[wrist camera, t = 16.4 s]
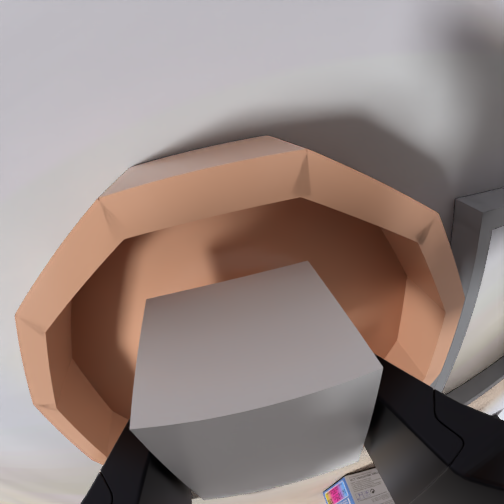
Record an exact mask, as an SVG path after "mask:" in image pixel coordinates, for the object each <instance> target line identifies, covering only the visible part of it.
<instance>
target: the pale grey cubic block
mask: <svg viewBox="0 0 504 504" xmlns="http://www.w3.org/2000/svg"><path fill="white" fill-rule="evenodd" d="M382 371H383V366H382V365H381V363H380V362H379V360H378V359H377V357H376V356H375V355H374V353H373V352H372V350H371V349H370V347H369V346H368V344H367V343H366V341H365V340H364V339H363V337H362V336H361V334H360V333H359V331H358V330H357V328H356V327H355V326H354V324H353V323H352V321H351V320H350V318H349V317H348V316H347V314H346V313H345V311H344V310H343V309H342V307H341V306H340V304H339V303H338V302H337V300H336V299H335V297H334V296H333V295H332V293H331V292H330V290H329V289H328V288H327V286H326V285H325V283H324V282H323V281H322V279H321V278H320V277H319V275H318V274H317V272H316V271H315V270H314V268H313V267H312V266H311V264H310V263H309V262H308V261H304V262H300V263H296V264H292V265H288V266H284V267H280V268H276V269H272V270H268V271H264V272H260V273H256V274H252V275H248V276H244V277H240V278H235V279H231V280H227V281H223V282H219V283H214V284H210V285H206V286H202V287H197V288H193V289H189V290H185V291H180V292H176V293H171V294H167V295H163V296H158V297H154V298H149V299H146V304H145V309H144V315H143V321H142V327H141V334H140V340H139V347H138V354H137V362H136V369H135V378H134V386H133V396H132V406H131V417H130V430H131V431H132V433H133V434H134V435H135V436H136V437H137V438H138V439H139V440H140V441H141V442H142V443H143V444H144V445H145V447H146V448H147V449H148V450H149V451H150V452H151V453H152V454H153V455H154V456H155V457H156V458H157V459H158V460H159V461H160V462H161V463H162V464H163V465H165V466H166V467H167V468H168V469H169V470H170V471H171V472H172V473H173V474H174V475H175V476H176V477H177V478H179V479H180V480H181V481H182V482H183V483H184V484H185V485H186V486H188V487H189V488H190V489H191V490H192V491H193V492H195V493H196V494H197V495H198V496H199V497H201V498H202V499H203V500H209V499H217V498H224V497H230V496H236V495H242V494H248V493H253V492H258V491H262V490H267V489H271V488H276V487H280V486H284V485H288V484H291V483H295V482H299V481H302V480H306V479H309V478H312V477H315V476H319V475H322V474H325V473H328V472H331V471H334V470H336V469H339V468H342V467H345V466H347V465H350V464H353V463H355V462H358V461H359V458H360V455H361V452H362V448H363V445H364V442H365V439H366V435H367V432H368V428H369V425H370V421H371V418H372V414H373V410H374V406H375V402H376V398H377V394H378V390H379V385H380V381H381V376H382Z"/></svg>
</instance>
